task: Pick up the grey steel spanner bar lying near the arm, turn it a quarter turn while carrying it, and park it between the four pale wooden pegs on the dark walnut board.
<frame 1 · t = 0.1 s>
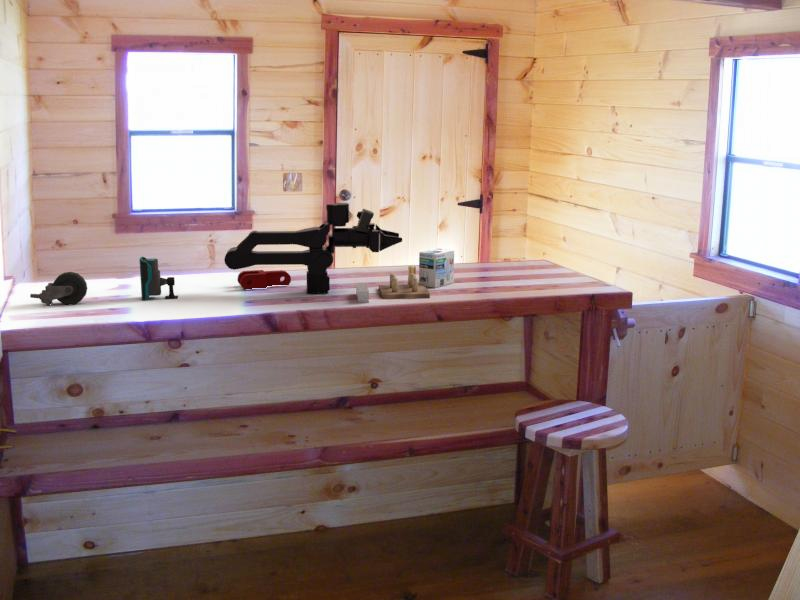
hand: (400, 237, 275), 17 cm above the table, tool horizontal, fingers open, 9 cm apart
light bulb box: (436, 285, 289), on the table
peg board: (403, 293, 275), on the table
brass pin: (411, 285, 287), on the table
caster wheel: (59, 305, 257), on the table
mechanical linkage: (265, 288, 283), on the table
spanner bar: (362, 299, 268), on the table
surveillance camera: (160, 298, 266), on the table
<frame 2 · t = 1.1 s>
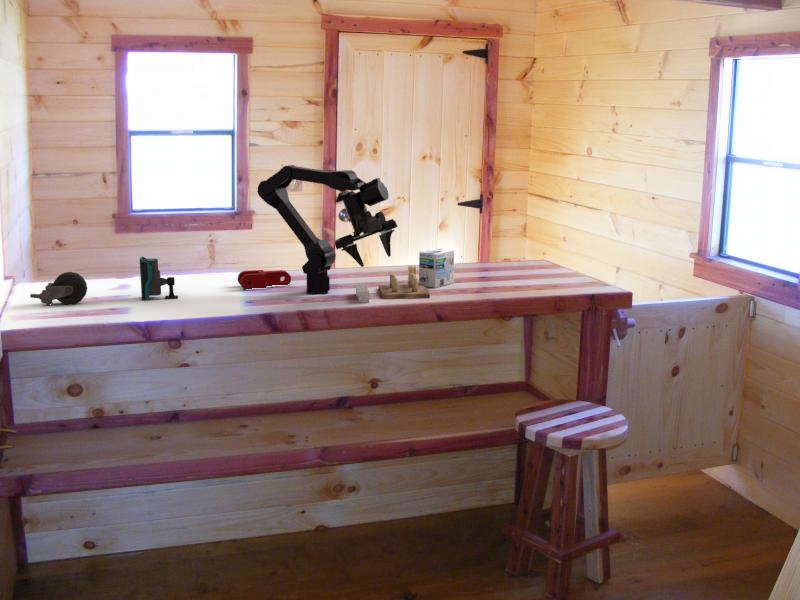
hand: (376, 261, 267), 11 cm above the table, tool tilted 25°, fingers open, 9 cm apart
nothing on the table moved.
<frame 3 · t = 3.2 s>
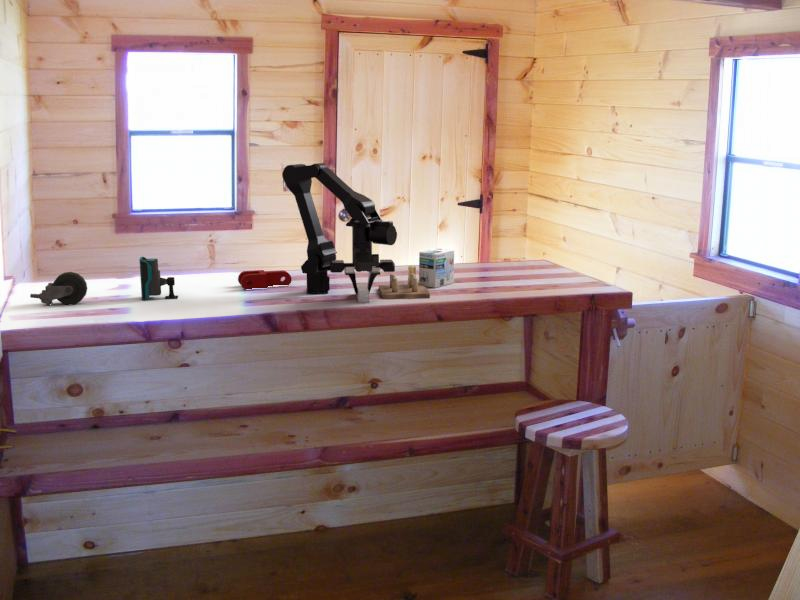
hand: (362, 294, 268), 1 cm above the table, tool pointing down, fingers closed on spanner bar, 3 cm apart
spanner bar: (362, 298, 268), on the table, touching gripper
everything else where it was.
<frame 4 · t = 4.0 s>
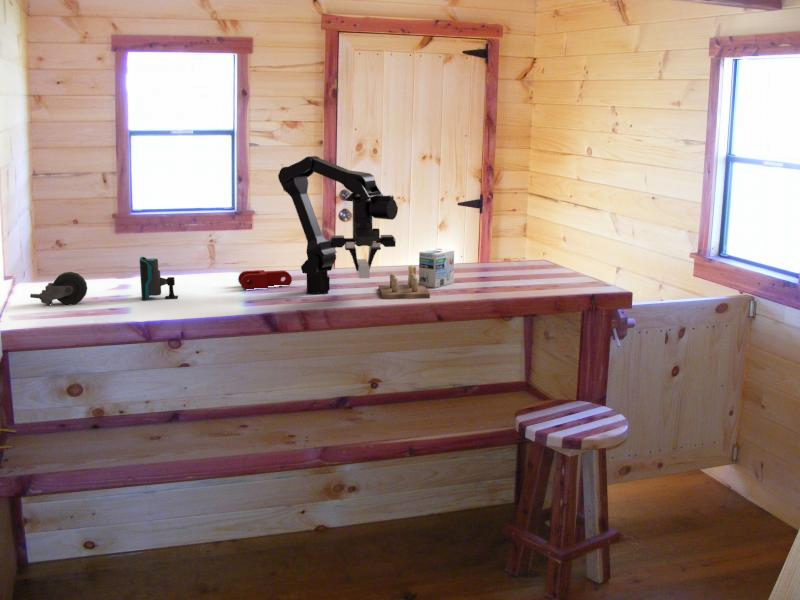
hand: (362, 270, 266), 8 cm above the table, tool pointing down, fingers closed on spanner bar, 3 cm apart
spanner bar: (362, 274, 266), point 7 cm above the table, touching gripper
everything else where it was.
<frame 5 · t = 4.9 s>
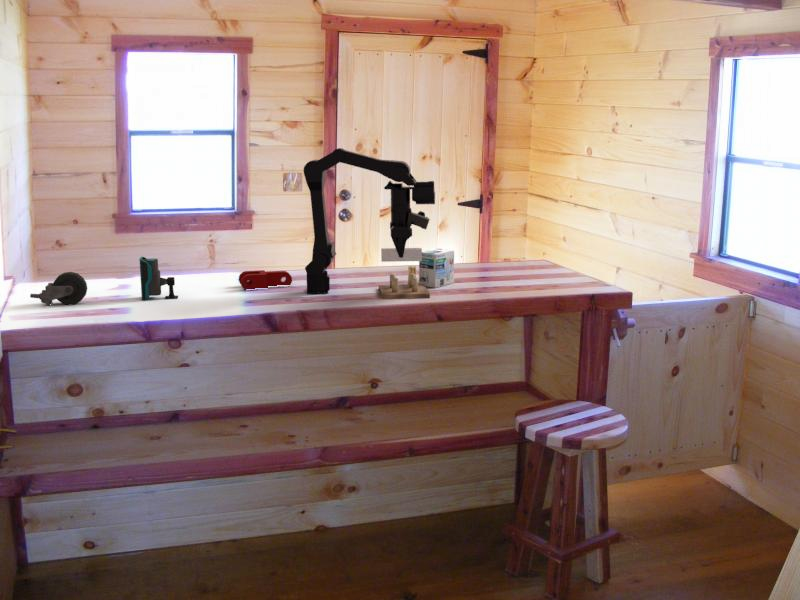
hand: (401, 256, 272), 11 cm above the table, tool pointing down, fingers closed on spanner bar, 3 cm apart
spanner bar: (401, 260, 272), point 10 cm above the table, touching gripper
everything else where it was.
when the fingers open (4 cm above the table, at t = 6.3 s): spanner bar drops 2 cm, resting on peg board.
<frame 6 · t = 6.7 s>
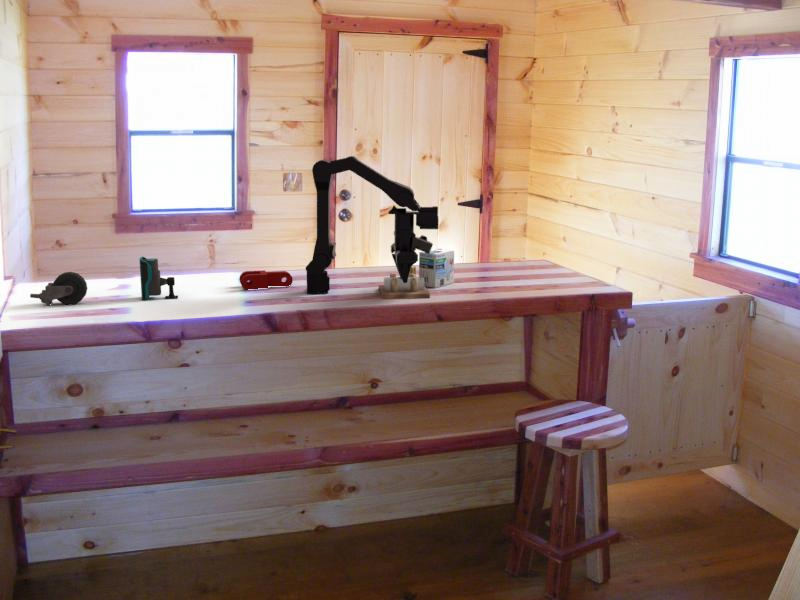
hand: (403, 280, 274), 4 cm above the table, tool pointing down, fingers open, 7 cm apart
spanner bar: (404, 289, 275), point 1 cm above the table, touching peg board
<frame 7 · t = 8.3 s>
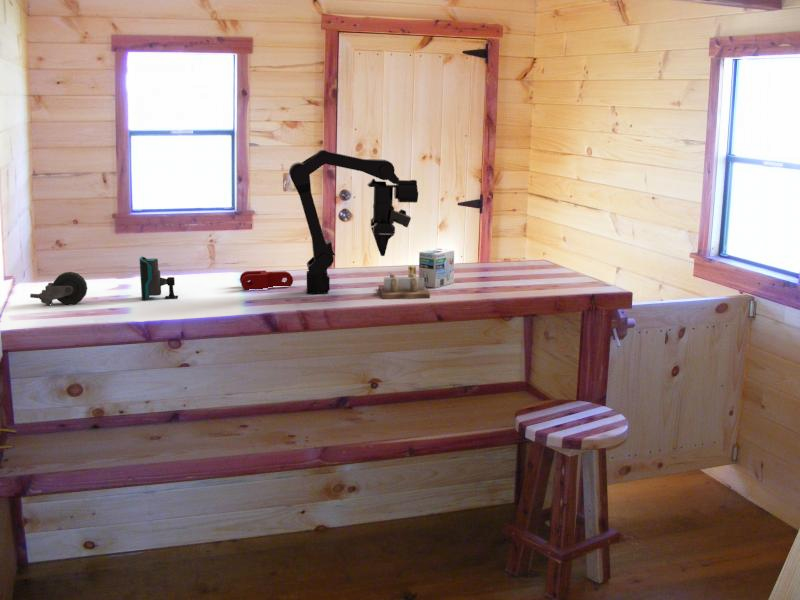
hand: (381, 253, 277), 12 cm above the table, tool pointing down, fingers open, 9 cm apart
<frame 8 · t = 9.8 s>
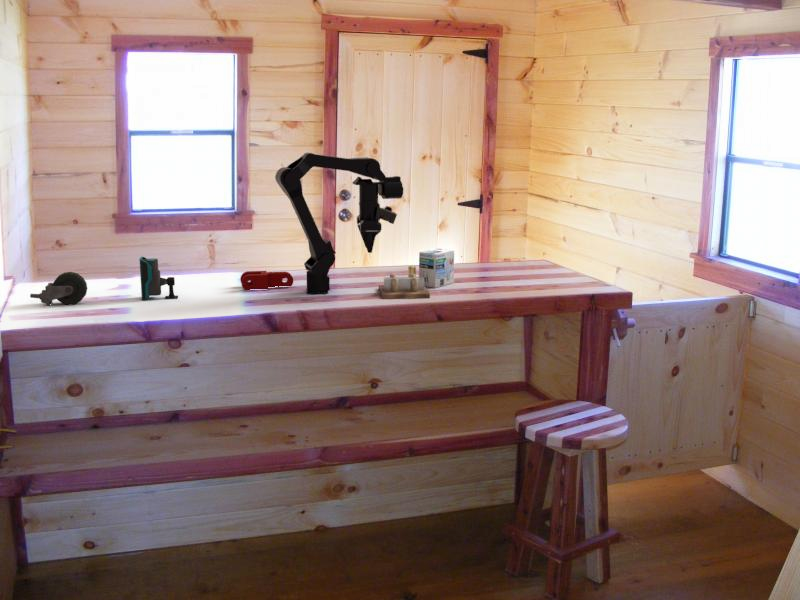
hand: (368, 250, 279), 12 cm above the table, tool pointing down, fingers open, 9 cm apart
at the end: spanner bar 0.1 cm from the target spot, point 1.2 cm above the table; spanner bar tilted 0°; the gripper is holding nothing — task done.
